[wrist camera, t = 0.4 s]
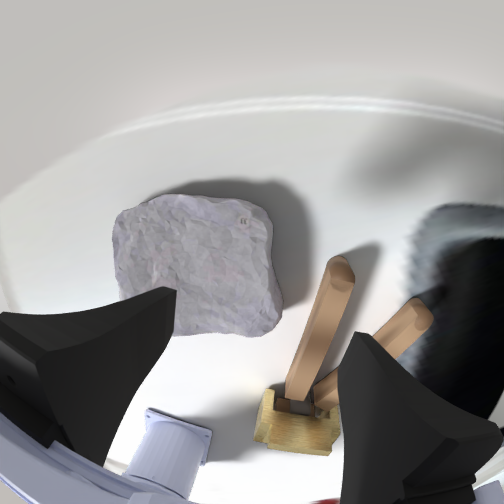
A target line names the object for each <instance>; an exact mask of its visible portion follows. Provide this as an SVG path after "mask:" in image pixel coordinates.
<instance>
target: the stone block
mask: <svg viewBox="0 0 504 504" xmlns="http://www.w3.org/2000/svg"><path fill="white" fill-rule="evenodd" d="M272 237H273V225H272V222H271V220H270V219H269V217H268V214H267V212H266V211H265V210H264V209H262V208H261V207H260V206H257V205H255V204H252V203H251V202H249V201H245V200H241V199H234V198H211V197H207V196H203V195H197V196H191V195H185V194H163V195H161V196H159V197H156V198H154V199H152V200H150V201H149V202H144V203H141V204H139V205H138V206H136V207H134V208H131V209H127V210H123V211H122V212H121V213H120V214H119V215H118V216H117V218H116V220H115V225H114V227H113V233H112V242H113V251H114V266H115V277H116V279H117V282H118V286H119V298H120V301H122V300H125V299H128V298H131V297H134V296H136V295H139V294H142V293H144V292H147V291H150V290H152V289H155V288H158V287H162V286H165V287H168V288H172V289H175V290H177V297H176V308H175V321H174V332H173V334H172V336H190V335H196V334H203V333H222V334H230V333H234V334H237V335H241V336H245V337H261V336H263V335H264V334H266V333H268V332H270V331H272V330H273V329H274V328H275V326H276V325H277V324H278V322H279V321H280V319H281V318H282V307H283V298H282V294H281V290H280V288H279V285H278V282H277V280H276V276H275V272H274V269H273V267H272V260H271V248H272Z"/></svg>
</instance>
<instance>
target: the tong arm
mask: <svg viewBox="0 0 504 504" xmlns="http://www.w3.org/2000/svg"><path fill="white" fill-rule="evenodd" d="M432 322H433V315H432V314H431V312H430V311H429V310H428V308H427V307H426V306H425V305H424V303H423V302H422V301H421V300H420V299H419V298H412V299H410V300H409V301H408V302H407V303H406V304H405V305H404V306H403V307H402V308H401V309H400V310H399V311H398V312H397V313H396V314H395V315H394V316H393V317H392V318H391V319H390V320H389V321H388V322H387V323H386V324H385V325H384V326H383V327H382V328H381V329H380V330H379V331H378V332H377V333H376V334H375V335H374V336H373V338H374V339H375V340H376V341H377V342H378V343H379V344H380V345H381V346H382V347H383V348H384V349H385V350H386V351H387V352H388V353H389V354H390V355H391V356H392V357H393V358H394V359H396V358H397V357H398V356H399V355H400V354H402V353H403V352H404V351H405V350H406V349H407V348H408V347H409V346H410V345H411V344H412V343H413V342H414V341H415V340H417V339H418V338H419V337H420V336H421V335H422V334H423V333H424V332H425V331H426V330H427V329H428V328H429V327H430V325H431V324H432ZM337 369H338V367H337V368H336V369H335V370H334V371H333V372H331V373H330V374H329V375H328V376H326V377H325V378H324V379H323V380H321V381H320V382H319V383H317V384H316V385H315V386H314V387H313V389H314V405H315V406H317V407H319V408H321V409H323V410H325V411H326V412H328V411H330V410H331V409H332V408H334V407H335V406H337V405H338V404H339V398H338V390H337Z"/></svg>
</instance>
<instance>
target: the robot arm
mask: <svg viewBox="0 0 504 504" xmlns="http://www.w3.org/2000/svg"><path fill="white" fill-rule="evenodd" d="M176 297H177V290H175V289H172V288H168V287H165V286H162V287H158V288H155V289H152V290H150V291H147V292H144V293H142V294H139V295H136V296H134V297H131V298H128V299H125V300H122V301H119V302H116V303H113V304H110V305H107V306H103V307H99V308H95V309H90V310H85V311H80V312H72V313H63V314H47V315H35V314H20V313H11V312H2V313H1V314H0V480H1V481H2V482H3V483H4V484H5V485H6V486H8V487H9V488H10V489H11V490H12V491H13V492H15V493H16V494H17V495H18V496H19V497H21V498H22V499H23V500H24V501H26V502H27V503H28V504H198V503H194V502H190V501H188V499H189V496H190V493H191V490H192V487H193V484H194V481H195V478H196V474H197V471H198V468H199V466H204V465H205V462H206V458H207V454H208V449H209V445H210V440H211V436H212V431H211V430H209V429H205V428H202V427H199V426H195V425H192V424H189V423H186V422H183V421H180V420H177V419H174V418H171V417H168V416H165V415H162V414H159V413H157V412H154V411H151V410H149V409H146V410H145V412H144V413H145V425H146V433H145V435H144V437H143V439H142V441H141V443H140V445H139V447H138V449H137V450H136V452H135V454H134V456H133V458H132V460H131V462H130V464H129V466H128V468H127V470H126V472H125V473H122V475H121V476H120V475H117V474H115V473H113V472H111V471H109V470H107V469H105V468H103V465H104V463H105V460H106V457H107V454H108V451H109V449H110V446H111V444H112V442H113V439H114V437H115V434H116V432H117V430H118V427H119V425H120V423H121V421H122V419H123V417H124V415H125V412H126V410H127V408H128V406H129V404H130V402H131V401H132V399H133V397H134V395H135V393H136V391H137V390H138V388H139V387H140V385H141V384H142V382H143V381H144V379H145V378H146V376H147V375H148V374H149V372H150V371H151V369H152V368H153V366H154V365H155V364H156V362H157V361H158V359H159V358H160V356H161V355H162V353H163V352H164V350H165V348H166V346H167V344H168V343H169V340H170V338H171V336H172V334H173V332H174V321H175V308H176ZM337 390H338V398H339V405H340V412H341V419H342V426H343V433H344V468H343V481H342V490H341V497H340V504H504V493H503V490H502V487H501V485H500V482H499V480H496V481H494V482H491V483H489V484H486V485H483V486H481V487H479V488H477V489H475V490H474V491H473V488H472V484H474V483H475V482H476V477H475V473H476V472H477V471H478V470H479V469H480V468H481V467H482V466H484V465H485V464H486V463H487V462H488V461H489V460H490V459H491V458H492V457H493V456H494V455H495V454H496V453H497V451H498V450H499V448H500V447H501V445H502V442H503V435H502V433H501V431H500V430H499V428H498V426H497V424H496V423H494V422H491V421H488V420H486V419H483V418H480V417H477V416H475V415H472V414H470V413H468V412H466V411H464V410H462V409H460V408H458V407H456V406H454V405H452V404H450V403H449V402H447V401H445V400H444V399H442V398H441V397H439V396H438V395H436V394H435V393H433V392H432V391H430V390H429V389H428V388H427V387H425V386H424V385H423V384H421V383H420V382H419V381H418V380H416V379H415V378H414V377H413V376H412V375H411V374H410V373H409V372H407V371H406V370H405V369H404V368H403V367H402V366H401V365H400V364H399V363H398V362H397V361H396V360H395V359H394V358H393V357H392V356H391V355H390V354H389V353H388V352H387V351H386V350H385V349H384V348H383V347H382V346H381V345H380V344H379V343H378V342H377V341H376V340H375V339H374V338H373V337H372V336H371V335H369V334H367V333H362V332H356V331H355V332H354V335H353V337H352V339H351V341H350V344H349V346H348V348H347V350H346V353H345V355H344V357H343V359H342V361H341V363H340V365H339V367H338V369H337Z"/></svg>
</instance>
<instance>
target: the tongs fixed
mask: <svg viewBox="0 0 504 504" xmlns="http://www.w3.org/2000/svg"><path fill="white" fill-rule="evenodd" d="M354 284H355V275H354V273H353V271H352V269H351V268H350V266H349V264H348V262H347V260H346V259H345V258H344V257H341V256H335V257H332V258H331V259H330V260H329V261H328V263H327V266H326V269H325V272H324V275H323V278H322V281H321V284H320V287H319V290H318V293H317V296H316V299H315V302H314V305H313V308H312V311H311V314H310V316H309V319H308V322H307V325H306V327H305V330H304V333H303V336H302V338H301V341H300V344H299V346H298V349H297V352H296V354H295V357H294V359H293V362H292V364H291V367H290V369H289V372H288V374H287V377H286V386H285V398H288V399H290V400H288V399H283V398H278V399H277V401H276V403H275V406H274V408H273V410H275V411H280V412H285V413H291V414H297V415H303V416H310V417H315V407H314V404H311V403H310V390H309V389H310V387H311V385H312V383H313V381H314V379H315V377H316V375H317V373H318V371H319V368H320V366H321V364H322V362H323V360H324V357H325V355H326V353H327V351H328V348H329V346H330V344H331V342H332V339H333V337H334V335H335V332H336V330H337V327H338V325H339V323H340V320H341V318H342V315H343V313H344V310H345V308H346V305H347V302H348V300H349V297H350V294H351V292H352V289H353V286H354Z"/></svg>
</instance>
